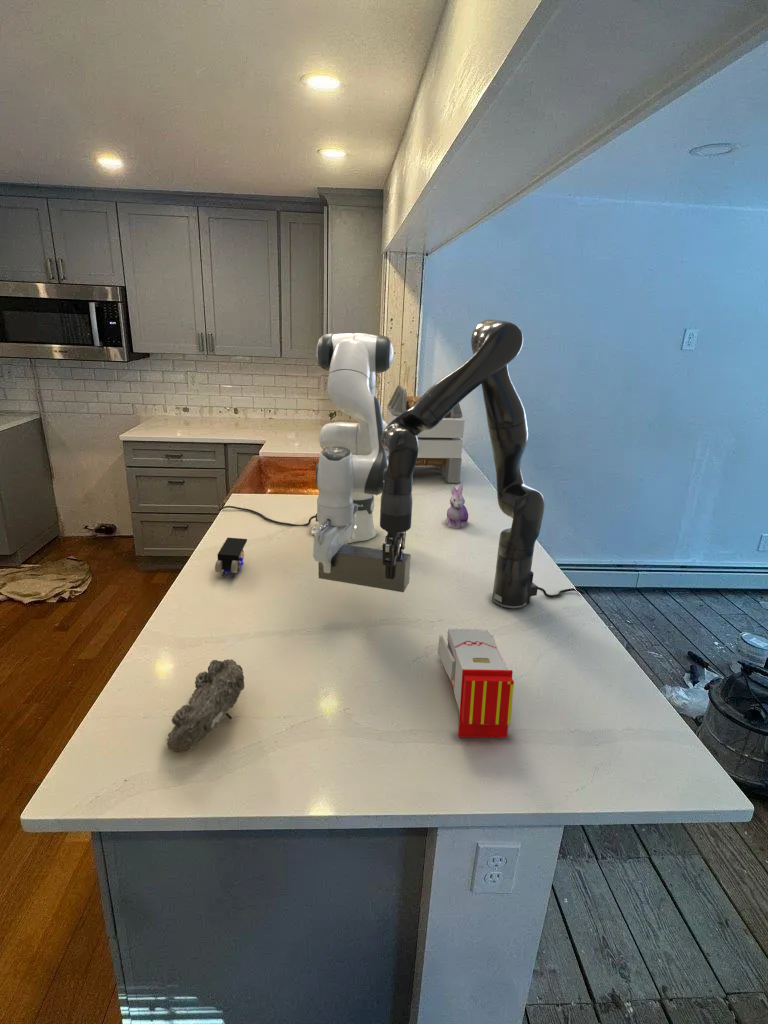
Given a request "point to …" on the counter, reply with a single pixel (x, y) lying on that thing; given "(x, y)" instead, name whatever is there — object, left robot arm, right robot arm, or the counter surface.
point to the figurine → (457, 509)
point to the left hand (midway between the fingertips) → (334, 564)
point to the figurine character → (230, 556)
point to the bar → (366, 568)
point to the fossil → (206, 705)
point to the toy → (478, 682)
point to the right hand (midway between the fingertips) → (393, 572)
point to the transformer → (434, 437)
